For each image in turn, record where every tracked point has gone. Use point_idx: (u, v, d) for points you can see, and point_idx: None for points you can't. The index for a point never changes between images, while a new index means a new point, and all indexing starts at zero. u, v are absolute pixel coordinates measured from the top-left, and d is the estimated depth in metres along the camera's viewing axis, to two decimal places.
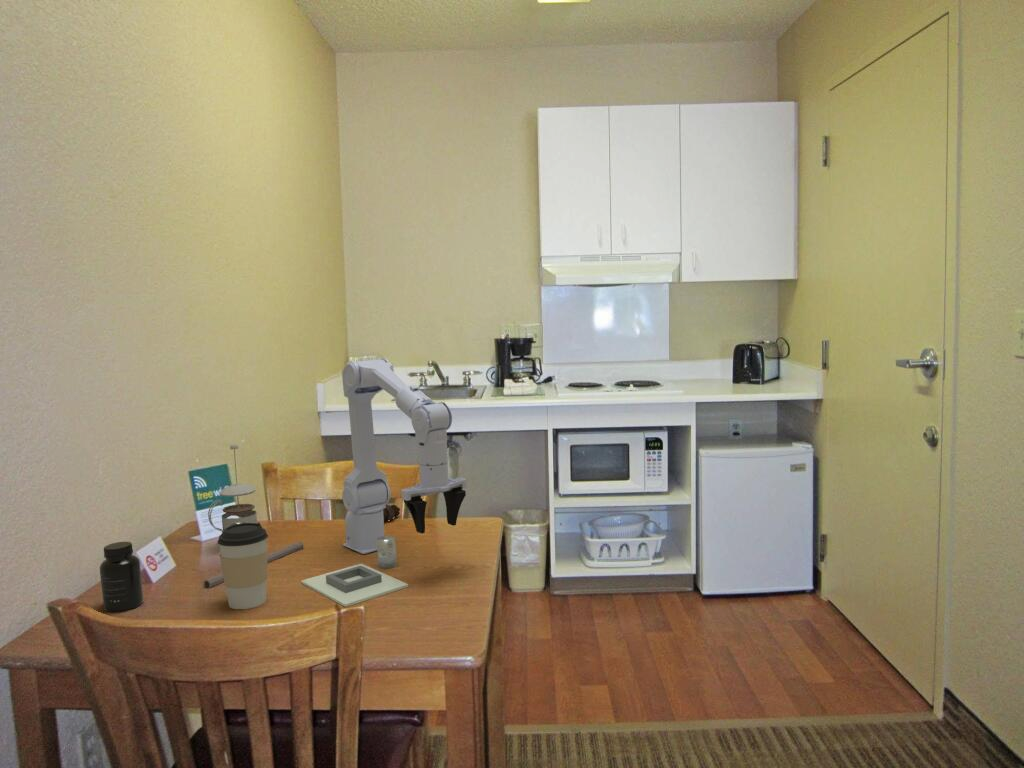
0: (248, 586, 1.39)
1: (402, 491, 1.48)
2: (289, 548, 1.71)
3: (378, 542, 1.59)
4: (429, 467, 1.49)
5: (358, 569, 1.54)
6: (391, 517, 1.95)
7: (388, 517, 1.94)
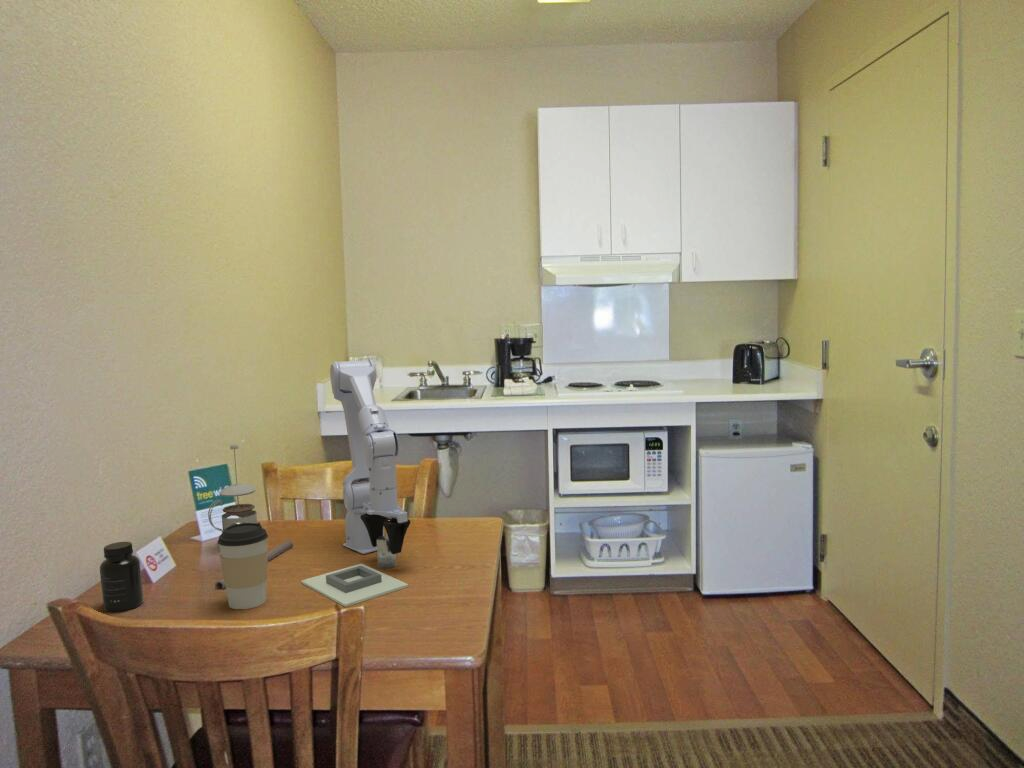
0: (248, 586, 1.39)
1: None
2: (282, 547, 1.72)
3: (378, 542, 1.59)
4: None
5: (358, 569, 1.54)
6: None
7: None
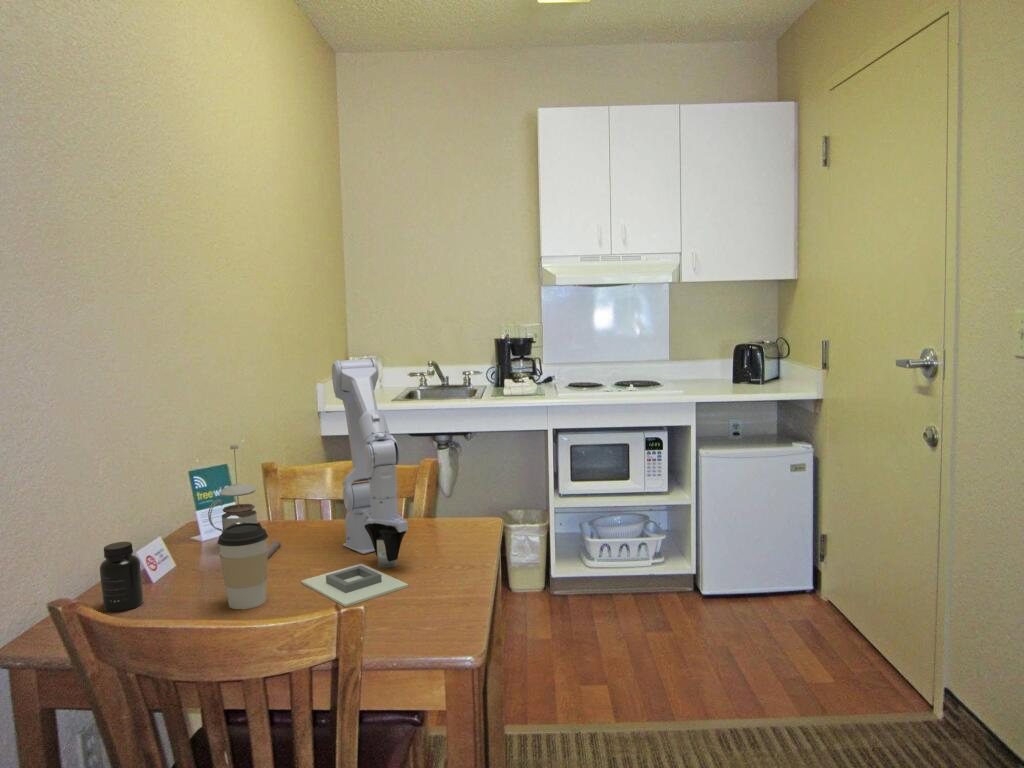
0: (248, 586, 1.39)
1: None
2: (273, 547, 1.72)
3: (378, 542, 1.59)
4: None
5: (358, 569, 1.54)
6: None
7: None
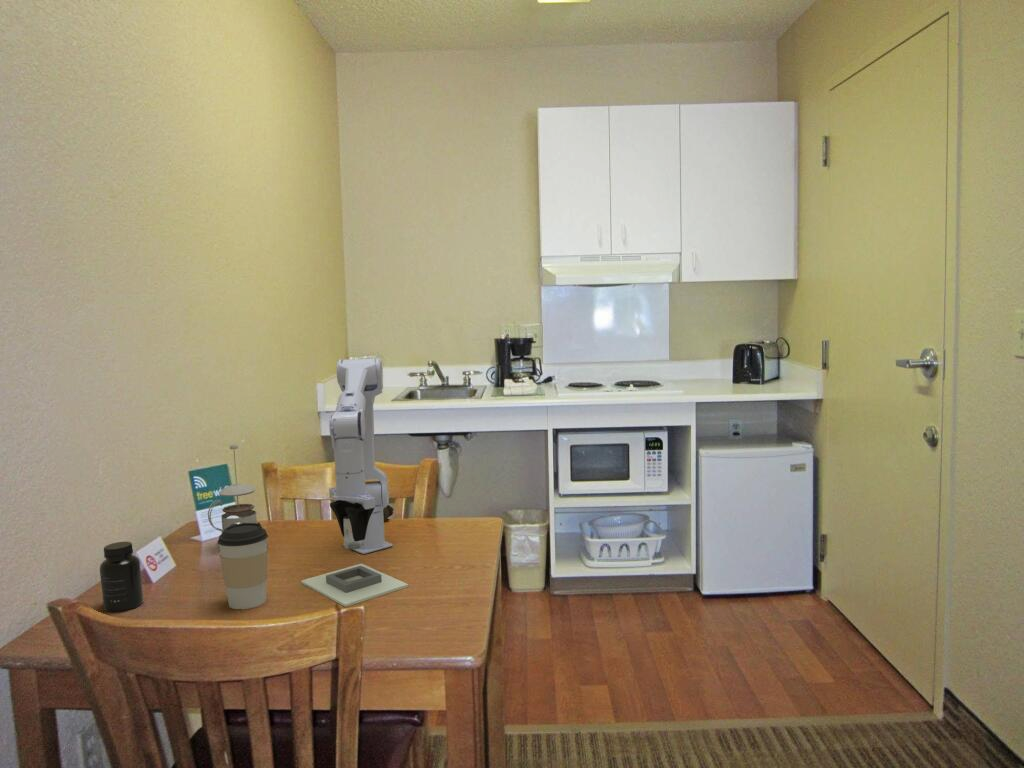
0: (248, 586, 1.39)
1: None
2: None
3: (345, 521, 1.48)
4: None
5: (358, 569, 1.54)
6: (386, 517, 1.95)
7: None
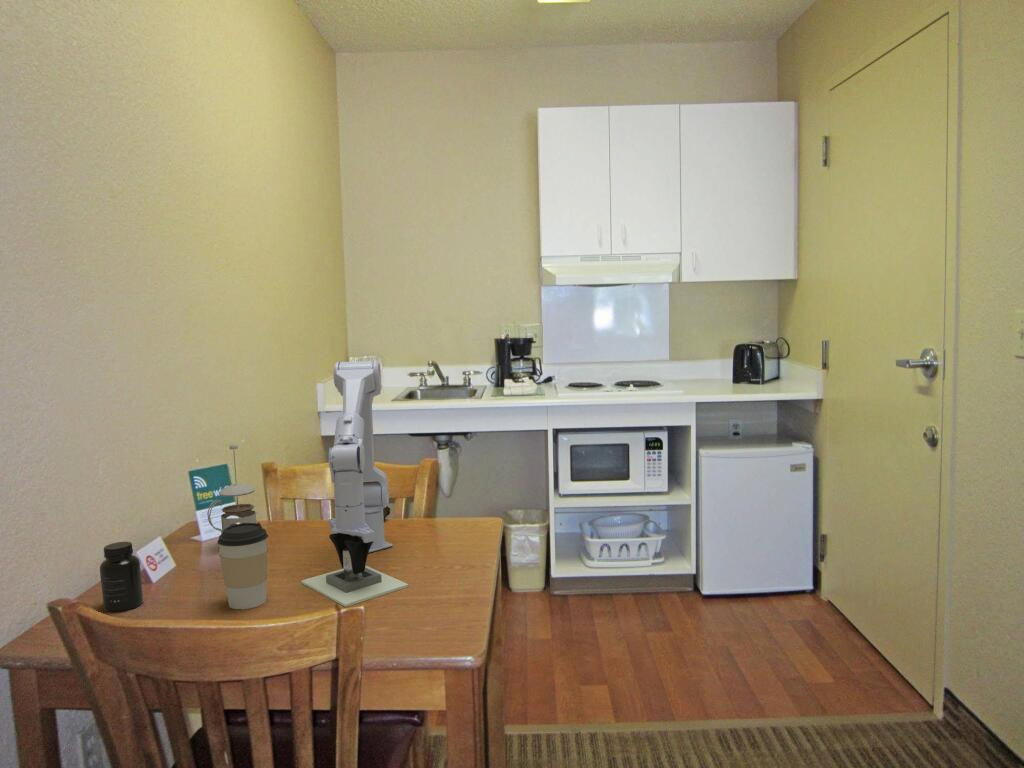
0: (248, 586, 1.39)
1: None
2: None
3: (344, 553, 1.48)
4: None
5: None
6: (384, 517, 1.95)
7: None
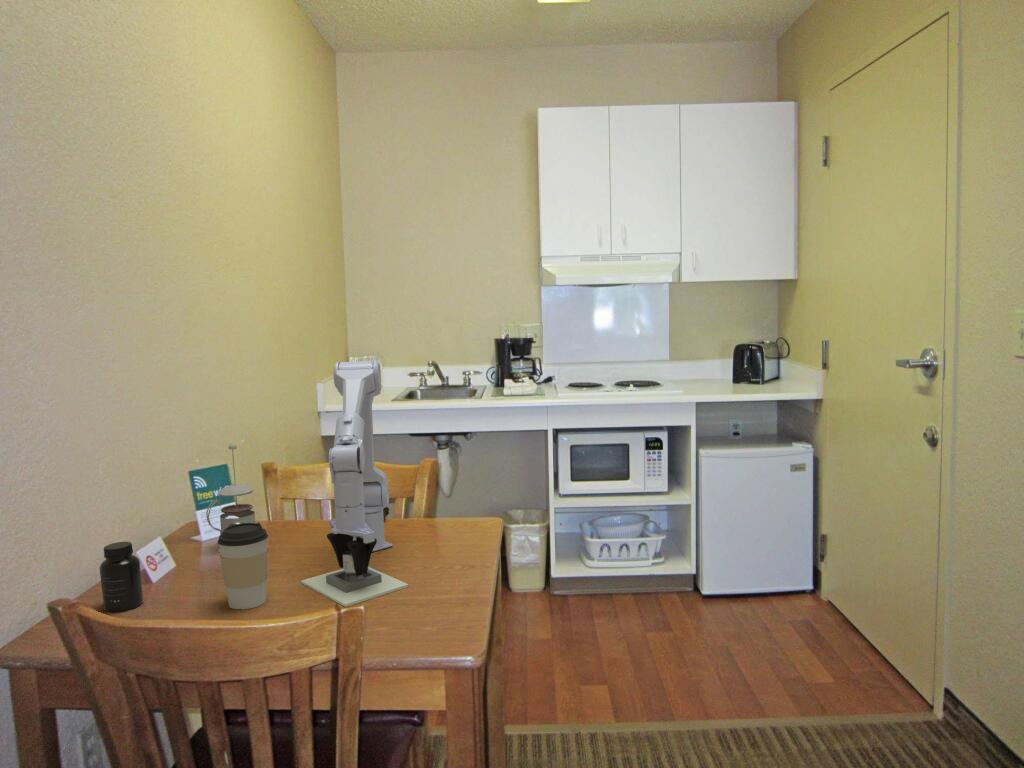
0: (248, 586, 1.39)
1: None
2: None
3: (344, 557, 1.48)
4: None
5: None
6: None
7: None
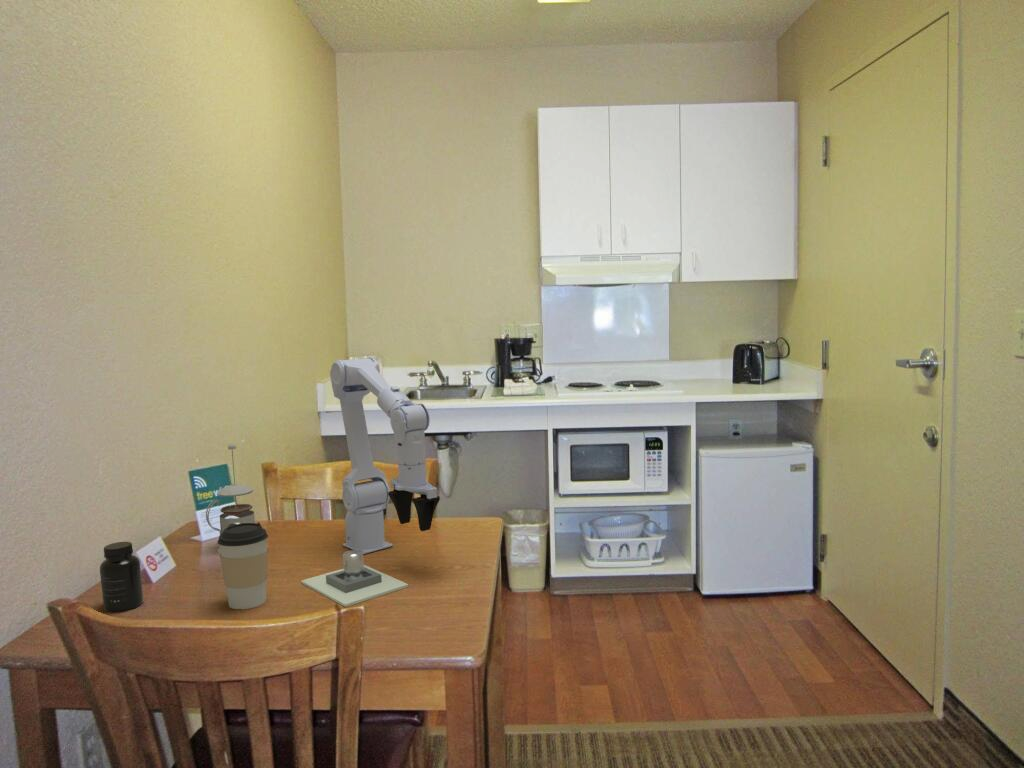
0: (248, 586, 1.39)
1: None
2: None
3: (344, 557, 1.48)
4: None
5: None
6: None
7: None
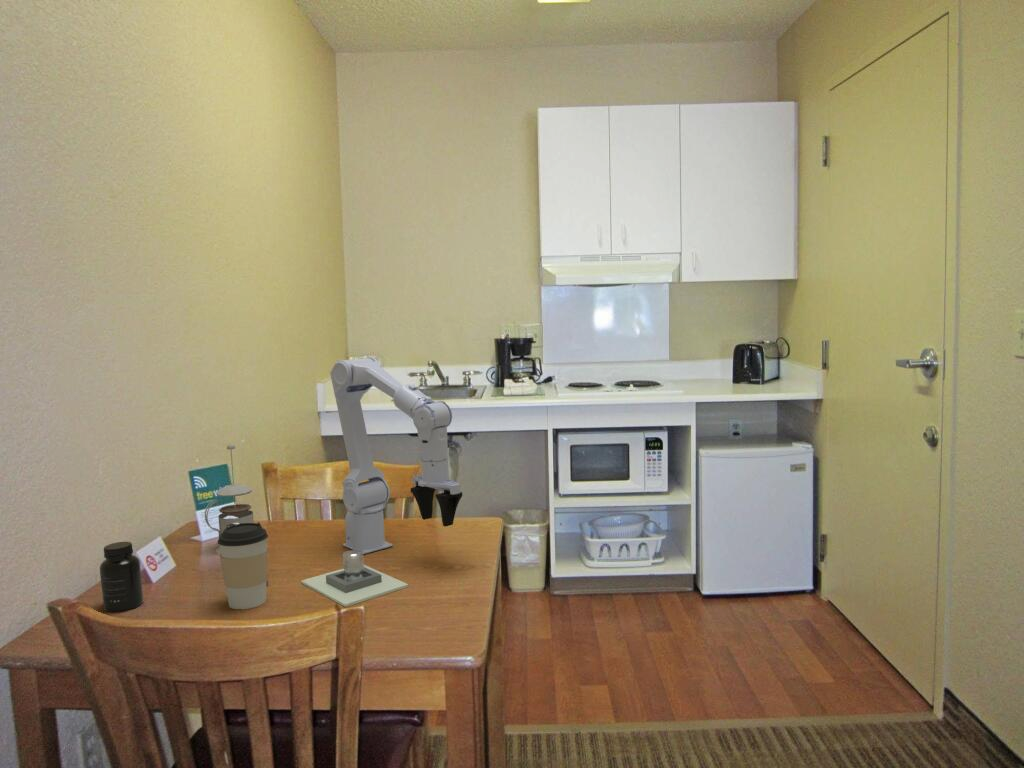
0: (248, 586, 1.39)
1: None
2: None
3: (344, 557, 1.48)
4: None
5: None
6: None
7: None
